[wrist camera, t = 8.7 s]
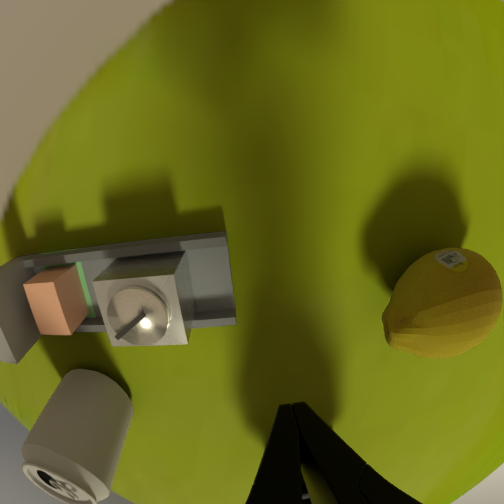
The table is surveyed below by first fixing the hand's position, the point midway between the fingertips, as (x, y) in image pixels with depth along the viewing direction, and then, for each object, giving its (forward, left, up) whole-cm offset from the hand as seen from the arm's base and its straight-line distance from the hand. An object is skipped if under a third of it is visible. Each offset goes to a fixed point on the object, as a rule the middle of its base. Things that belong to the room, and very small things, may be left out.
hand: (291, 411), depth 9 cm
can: (+16, +11, -13) cm, 24 cm away
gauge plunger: (+7, 0, -12) cm, 14 cm away
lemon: (-13, +3, -13) cm, 19 cm away
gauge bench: (+11, 0, -13) cm, 17 cm away
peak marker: (+15, 0, -13) cm, 20 cm away
